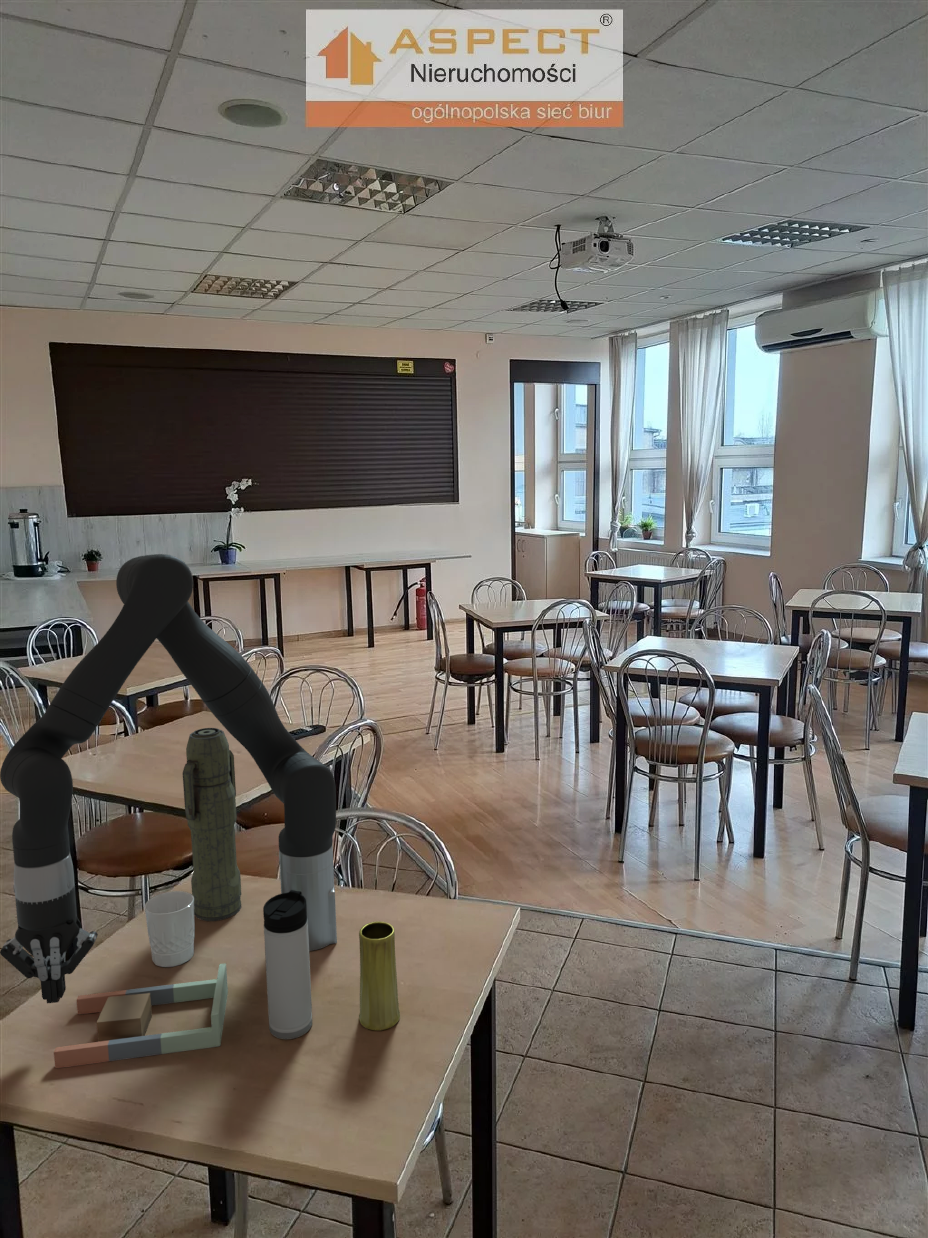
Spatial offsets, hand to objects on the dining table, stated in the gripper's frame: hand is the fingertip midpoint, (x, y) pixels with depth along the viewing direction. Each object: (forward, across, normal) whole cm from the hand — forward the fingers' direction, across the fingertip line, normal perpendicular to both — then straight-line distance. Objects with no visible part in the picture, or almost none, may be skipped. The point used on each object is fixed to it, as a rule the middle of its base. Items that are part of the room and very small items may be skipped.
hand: (54, 999), depth 119 cm
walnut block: (+6, -9, 0) cm, 11 cm away
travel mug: (+6, -34, +4) cm, 34 cm away
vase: (+6, -46, +5) cm, 47 cm away
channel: (+6, -12, 0) cm, 14 cm away
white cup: (+6, -13, -19) cm, 24 cm away
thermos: (+6, -19, -34) cm, 40 cm away
